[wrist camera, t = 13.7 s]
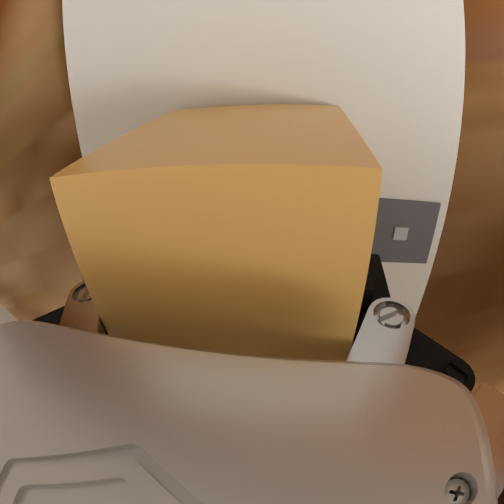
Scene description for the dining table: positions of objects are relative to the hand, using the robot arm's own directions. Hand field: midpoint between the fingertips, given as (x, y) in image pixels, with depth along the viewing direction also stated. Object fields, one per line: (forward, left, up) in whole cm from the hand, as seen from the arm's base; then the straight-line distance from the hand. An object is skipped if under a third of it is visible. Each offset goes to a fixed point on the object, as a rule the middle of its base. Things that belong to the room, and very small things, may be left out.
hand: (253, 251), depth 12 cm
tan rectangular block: (0, 0, -2) cm, 2 cm away
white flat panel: (0, -6, -3) cm, 7 cm away
